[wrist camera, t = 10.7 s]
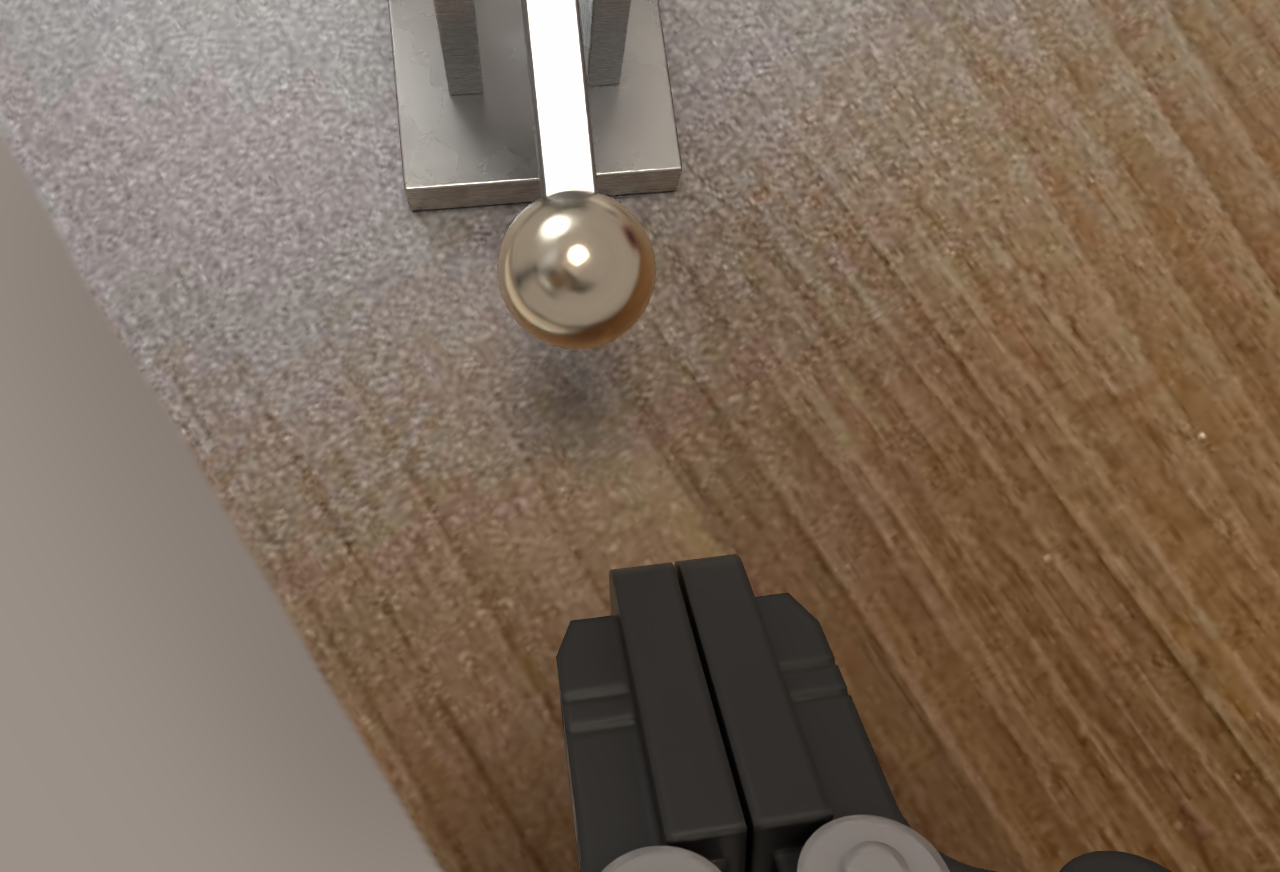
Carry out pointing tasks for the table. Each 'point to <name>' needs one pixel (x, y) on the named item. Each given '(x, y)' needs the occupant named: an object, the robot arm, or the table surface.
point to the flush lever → (570, 207)
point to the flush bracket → (524, 101)
